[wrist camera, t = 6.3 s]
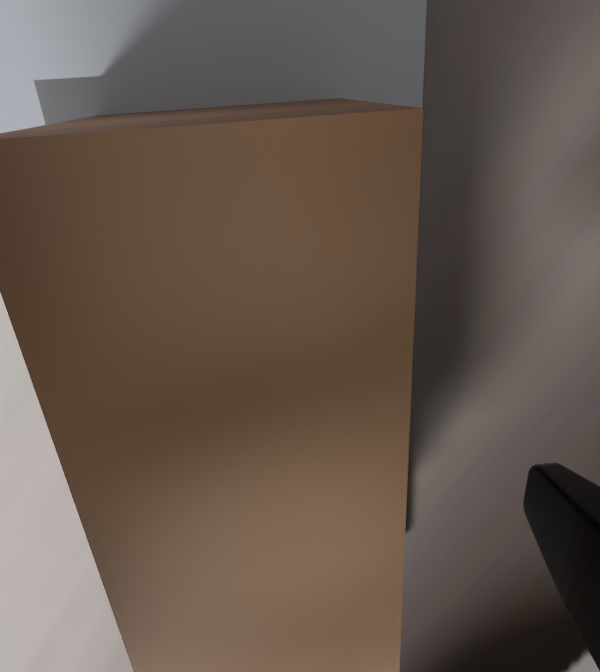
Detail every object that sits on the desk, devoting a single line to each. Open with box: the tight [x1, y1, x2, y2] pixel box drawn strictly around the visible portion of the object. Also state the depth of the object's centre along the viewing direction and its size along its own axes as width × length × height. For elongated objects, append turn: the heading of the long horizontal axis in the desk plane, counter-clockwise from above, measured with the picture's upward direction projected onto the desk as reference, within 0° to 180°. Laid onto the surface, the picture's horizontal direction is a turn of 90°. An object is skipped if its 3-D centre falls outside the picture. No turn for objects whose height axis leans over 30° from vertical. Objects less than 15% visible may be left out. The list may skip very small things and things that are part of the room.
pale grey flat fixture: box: [0, 0, 427, 133], centre depth 12 cm, size 16×9×4 cm, turn 4°
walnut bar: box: [0, 98, 424, 672], centre depth 8 cm, size 12×4×4 cm, turn 4°
